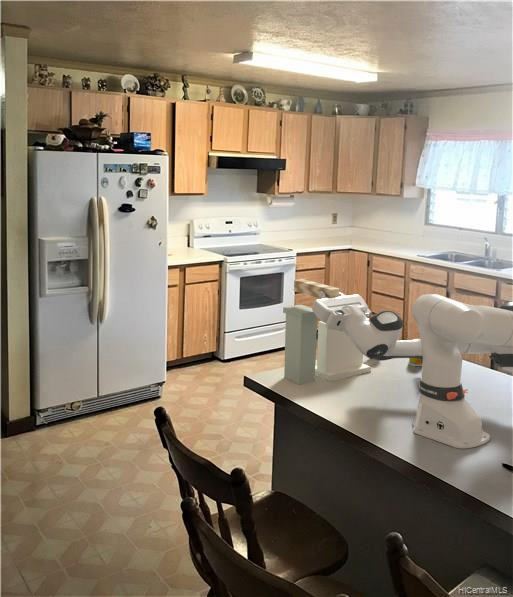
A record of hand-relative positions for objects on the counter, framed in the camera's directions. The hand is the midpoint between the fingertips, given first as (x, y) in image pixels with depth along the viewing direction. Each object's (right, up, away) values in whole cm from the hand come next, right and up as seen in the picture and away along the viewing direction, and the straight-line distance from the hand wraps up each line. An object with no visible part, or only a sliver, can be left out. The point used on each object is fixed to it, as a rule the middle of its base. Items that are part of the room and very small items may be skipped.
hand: (327, 291), depth 217 cm
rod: (-4, -1, +6) cm, 7 cm away
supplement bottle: (+38, -28, +32) cm, 57 cm away
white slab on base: (+7, -30, +21) cm, 37 cm away
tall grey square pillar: (-9, -31, +13) cm, 35 cm away
